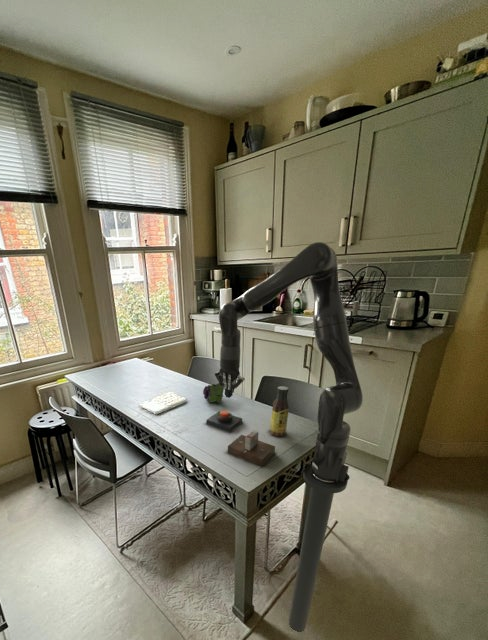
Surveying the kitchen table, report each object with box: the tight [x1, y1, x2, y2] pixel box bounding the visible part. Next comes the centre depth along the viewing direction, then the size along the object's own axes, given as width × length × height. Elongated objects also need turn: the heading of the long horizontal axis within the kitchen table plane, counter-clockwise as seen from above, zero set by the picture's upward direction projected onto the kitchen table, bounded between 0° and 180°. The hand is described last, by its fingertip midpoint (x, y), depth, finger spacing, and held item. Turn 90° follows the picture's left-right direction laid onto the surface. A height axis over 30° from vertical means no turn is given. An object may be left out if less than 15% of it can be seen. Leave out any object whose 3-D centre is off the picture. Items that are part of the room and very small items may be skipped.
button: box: [220, 410, 230, 418], centre depth 135 cm, size 4×4×2 cm
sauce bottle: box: [269, 385, 290, 437], centre depth 125 cm, size 7×6×20 cm
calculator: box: [139, 391, 187, 415], centre depth 156 cm, size 13×20×2 cm, turn 132°
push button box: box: [205, 410, 243, 433], centre depth 137 cm, size 12×10×4 cm
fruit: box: [202, 382, 225, 404], centre depth 156 cm, size 10×11×15 cm
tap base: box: [227, 434, 276, 467], centre depth 116 cm, size 14×10×3 cm
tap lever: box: [245, 429, 259, 451], centre depth 114 cm, size 6×2×5 cm, turn 141°
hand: (228, 396), depth 128 cm, fingers closed
